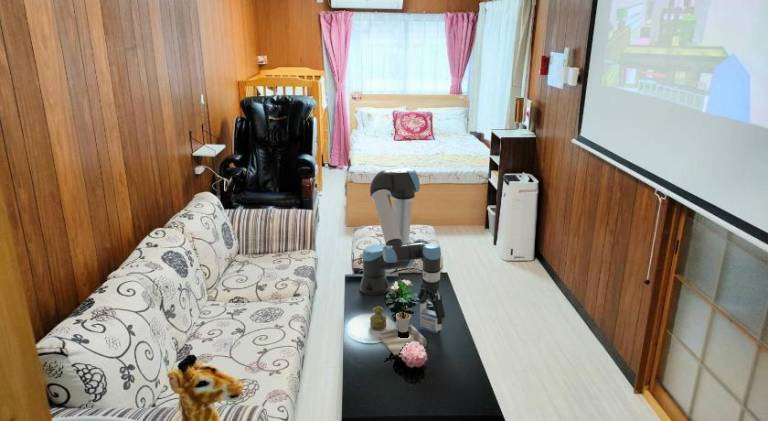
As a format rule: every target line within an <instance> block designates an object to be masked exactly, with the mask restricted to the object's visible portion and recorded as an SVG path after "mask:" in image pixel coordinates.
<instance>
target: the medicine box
mask: <svg viewBox="0 0 768 421" xmlns="http://www.w3.org/2000/svg"><path fill="white" fill-rule="evenodd" d="M435 317H437V316H436V313H435V311H432V310H427V308H426V309H424V310H423V311H422V312H421V317H420V327H419V330H420V331H423V330H424V332H428V331H429V332H428V333H434V334H437V333H438V332H439V331H440V330H438V331H435Z"/></svg>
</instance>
